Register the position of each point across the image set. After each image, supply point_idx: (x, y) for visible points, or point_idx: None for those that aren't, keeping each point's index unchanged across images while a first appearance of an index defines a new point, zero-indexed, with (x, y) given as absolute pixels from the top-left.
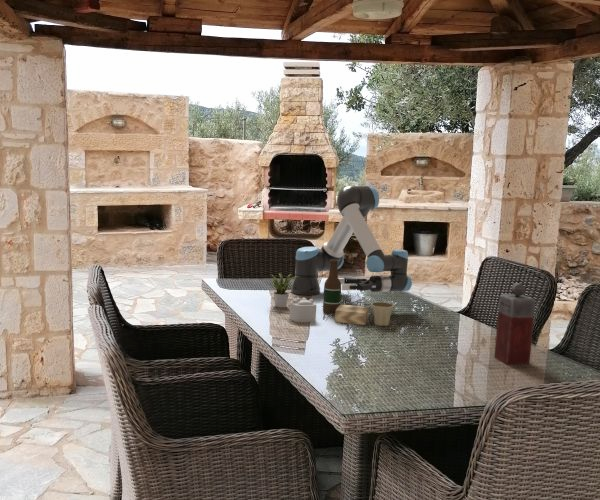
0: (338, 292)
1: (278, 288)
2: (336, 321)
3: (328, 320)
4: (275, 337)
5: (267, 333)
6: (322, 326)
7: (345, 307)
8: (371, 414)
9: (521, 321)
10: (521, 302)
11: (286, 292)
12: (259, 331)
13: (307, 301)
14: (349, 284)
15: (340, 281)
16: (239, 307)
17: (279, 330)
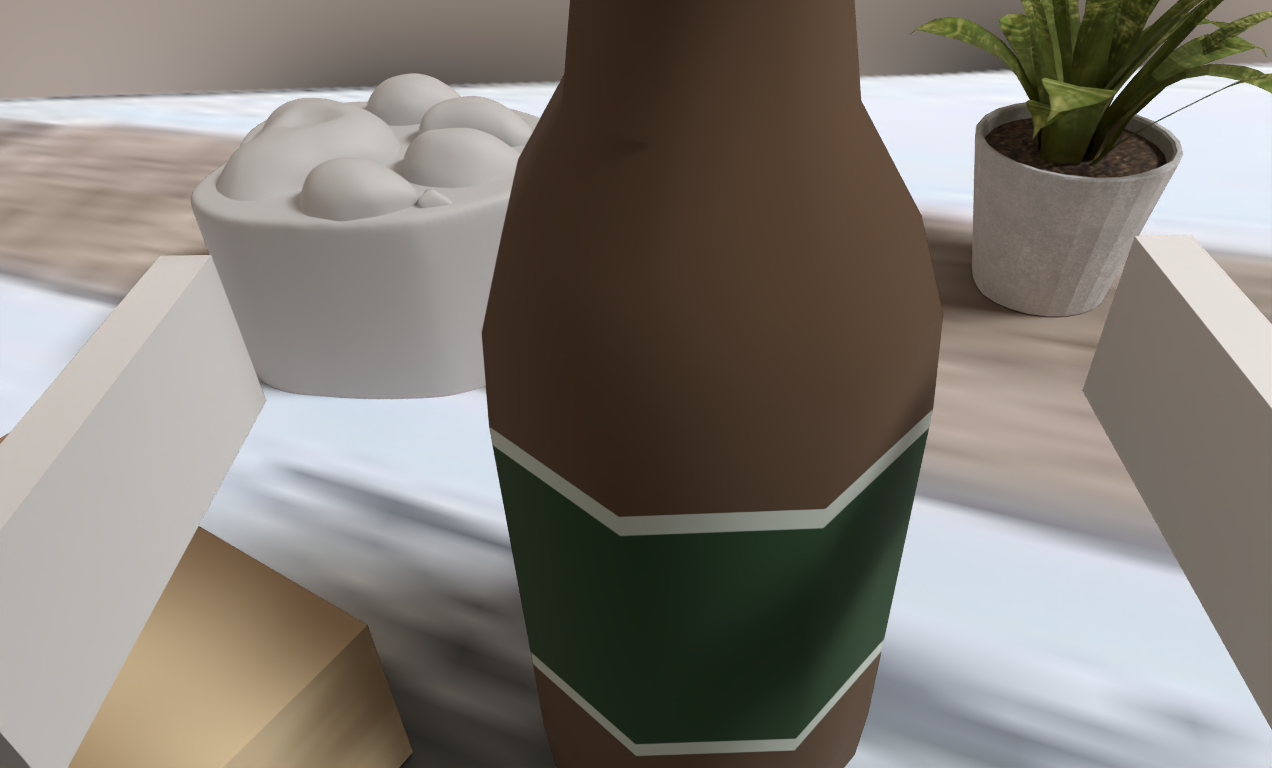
0: (499, 478)
1: (1033, 51)
2: None
3: (216, 505)
4: (33, 132)
5: (145, 120)
6: (33, 384)
7: None
8: None
9: None
10: None
11: (1146, 172)
12: (215, 103)
13: (266, 130)
14: (46, 407)
15: (1264, 556)
16: (926, 99)
17: (163, 161)
